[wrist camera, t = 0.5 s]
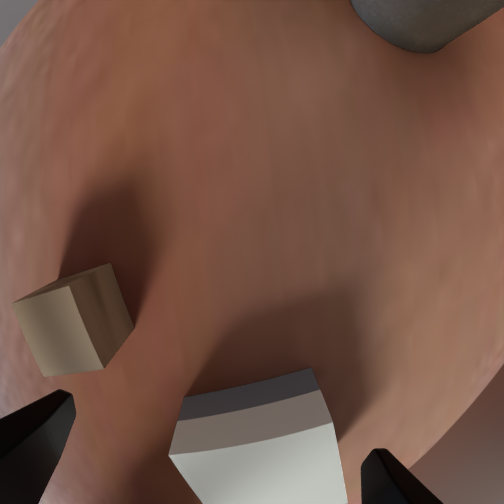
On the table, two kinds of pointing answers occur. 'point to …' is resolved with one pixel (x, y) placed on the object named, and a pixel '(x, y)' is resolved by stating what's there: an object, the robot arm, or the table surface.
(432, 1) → the pillar candle
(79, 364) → the brown faceted block
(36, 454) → the robot arm
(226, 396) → the tower base block
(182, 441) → the tower top block
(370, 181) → the table surface
